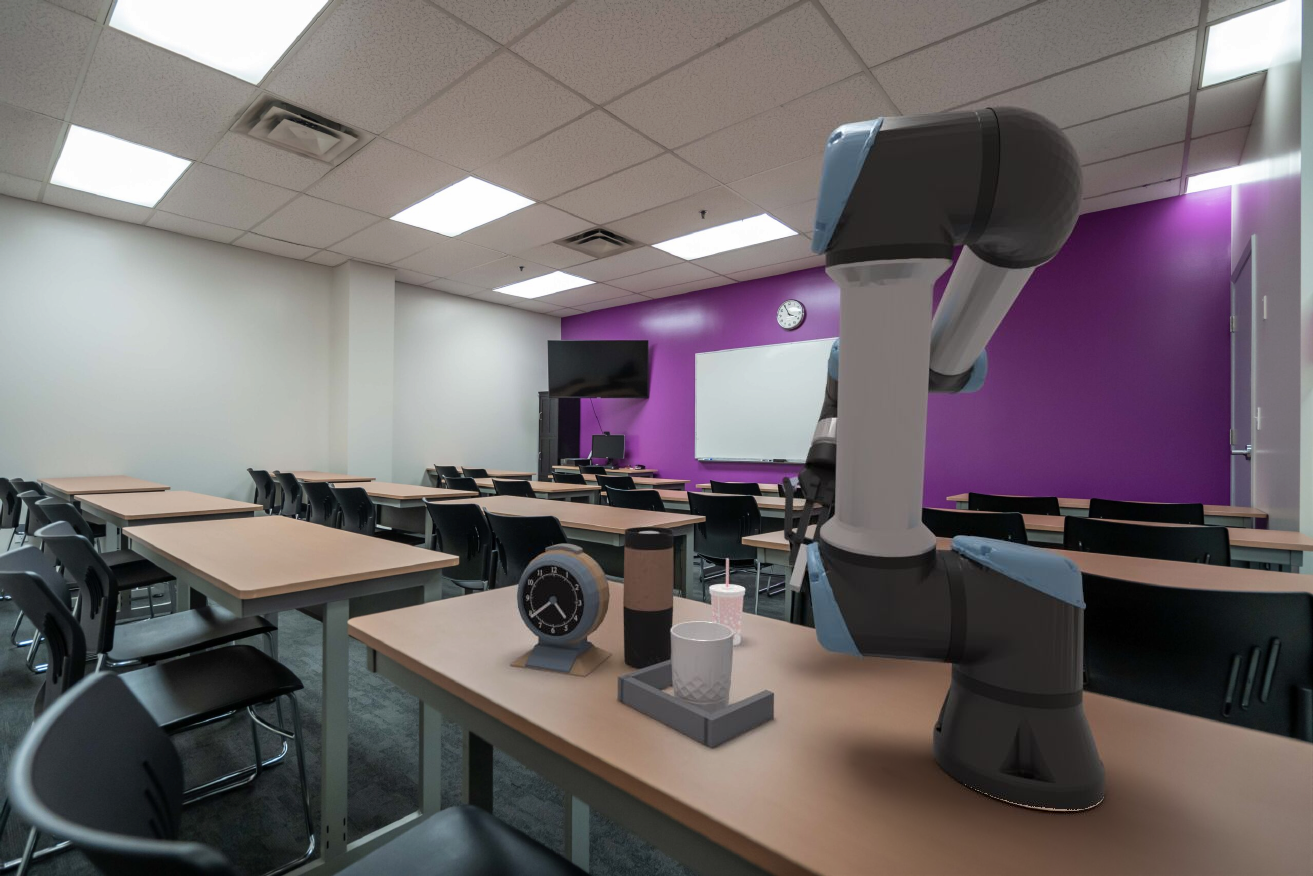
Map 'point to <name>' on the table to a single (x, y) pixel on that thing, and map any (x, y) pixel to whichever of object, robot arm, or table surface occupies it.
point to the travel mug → (648, 596)
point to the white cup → (702, 663)
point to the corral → (691, 707)
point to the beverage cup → (728, 605)
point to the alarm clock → (563, 610)
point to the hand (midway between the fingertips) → (794, 588)
